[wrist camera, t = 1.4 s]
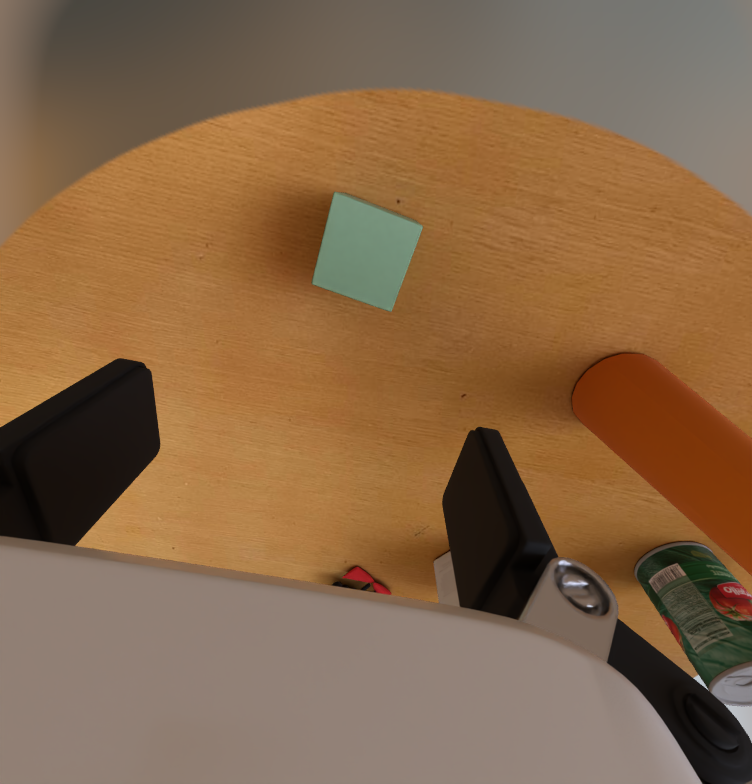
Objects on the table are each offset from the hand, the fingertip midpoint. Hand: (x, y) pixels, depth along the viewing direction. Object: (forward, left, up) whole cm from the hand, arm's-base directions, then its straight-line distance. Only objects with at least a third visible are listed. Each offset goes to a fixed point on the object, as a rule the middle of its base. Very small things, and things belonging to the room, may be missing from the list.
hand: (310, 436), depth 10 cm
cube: (0, +3, -17) cm, 18 cm away
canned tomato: (+42, -16, -18) cm, 48 cm away
